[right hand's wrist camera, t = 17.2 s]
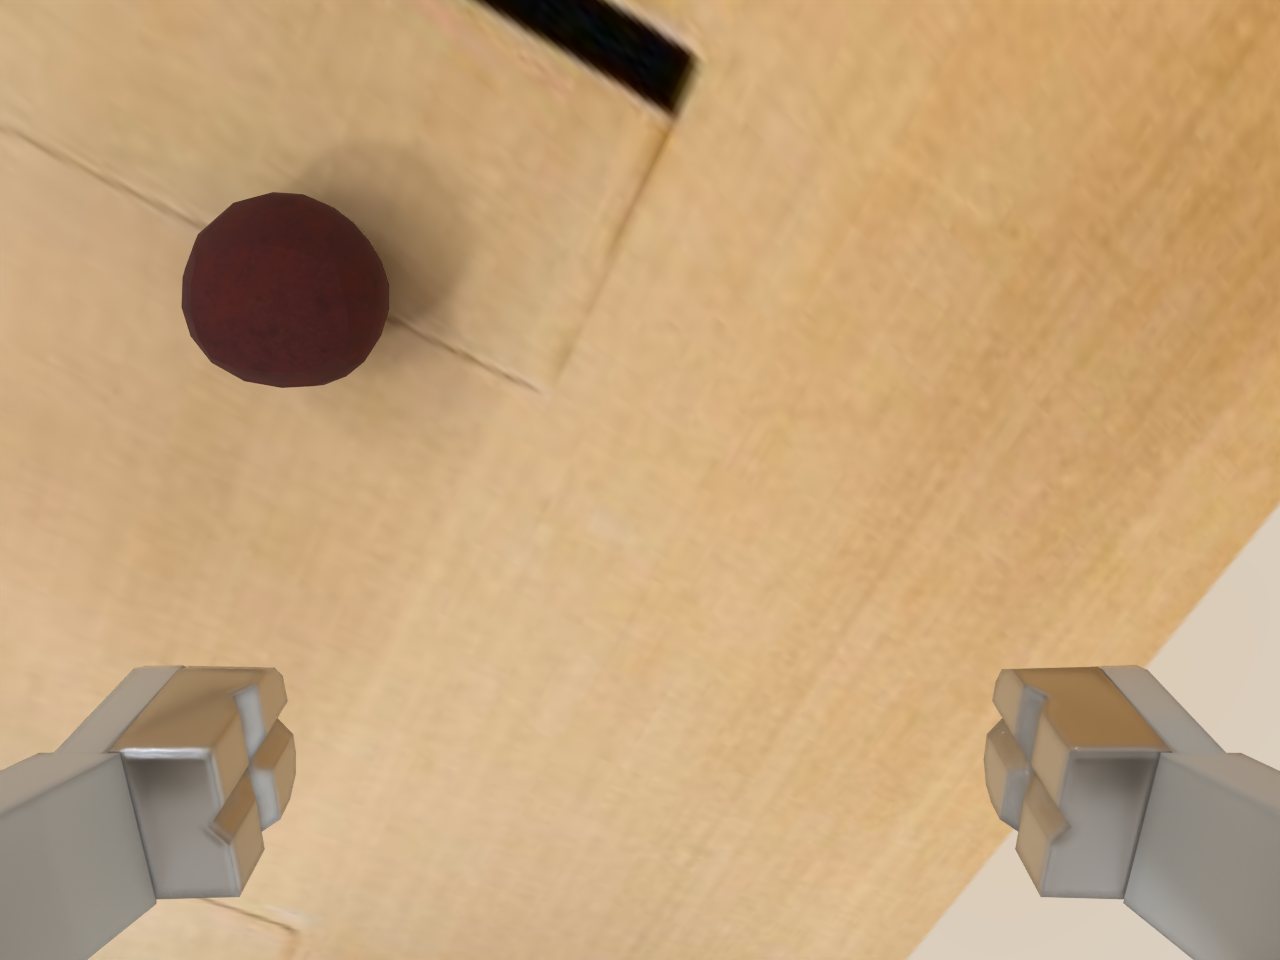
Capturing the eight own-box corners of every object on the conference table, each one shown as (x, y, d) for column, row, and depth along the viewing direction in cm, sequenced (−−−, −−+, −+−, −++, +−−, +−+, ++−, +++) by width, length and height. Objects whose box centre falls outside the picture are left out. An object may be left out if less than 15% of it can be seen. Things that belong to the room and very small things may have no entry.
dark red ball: (416, 361, 40) (373, 407, 33) (240, 365, 40) (162, 411, 33) (397, 185, 37) (345, 197, 31) (208, 189, 37) (116, 202, 31)
